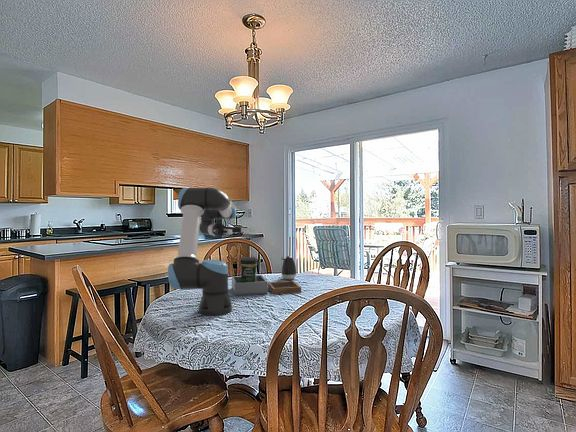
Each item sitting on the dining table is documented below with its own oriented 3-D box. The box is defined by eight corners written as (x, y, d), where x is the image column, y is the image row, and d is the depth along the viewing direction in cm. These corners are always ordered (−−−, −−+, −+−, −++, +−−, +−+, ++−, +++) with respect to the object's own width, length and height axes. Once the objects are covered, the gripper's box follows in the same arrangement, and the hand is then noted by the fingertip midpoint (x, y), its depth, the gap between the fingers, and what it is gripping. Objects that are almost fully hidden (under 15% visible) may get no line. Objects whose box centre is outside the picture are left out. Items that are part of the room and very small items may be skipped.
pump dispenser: (278, 277, 229) (278, 255, 228) (292, 276, 233) (292, 254, 232) (284, 281, 219) (284, 257, 219) (299, 279, 224) (299, 256, 223)
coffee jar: (239, 291, 190) (238, 258, 189) (241, 287, 198) (241, 255, 197) (256, 291, 189) (255, 258, 189) (258, 287, 197) (258, 256, 196)
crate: (267, 294, 187) (267, 281, 187) (234, 296, 183) (234, 283, 182) (262, 286, 204) (261, 274, 204) (231, 288, 200) (231, 276, 200)
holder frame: (301, 292, 191) (301, 286, 191) (273, 294, 187) (273, 288, 187) (293, 285, 206) (293, 280, 206) (267, 287, 202) (267, 282, 202)
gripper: (232, 234, 220) (255, 236, 207) (200, 237, 200) (224, 239, 187) (232, 222, 220) (255, 223, 206) (200, 224, 200) (223, 225, 187)
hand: (240, 231), depth 197 cm, fingers open, 13 cm apart
